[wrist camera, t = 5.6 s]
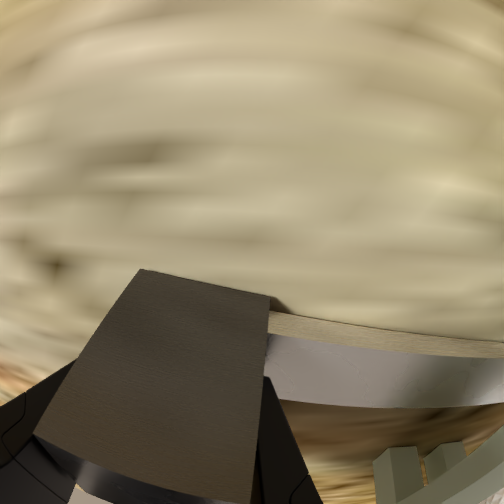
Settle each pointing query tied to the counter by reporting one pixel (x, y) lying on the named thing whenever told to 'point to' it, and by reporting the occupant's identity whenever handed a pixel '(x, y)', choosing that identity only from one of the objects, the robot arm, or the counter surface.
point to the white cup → (496, 498)
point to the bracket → (441, 473)
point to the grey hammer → (229, 387)
